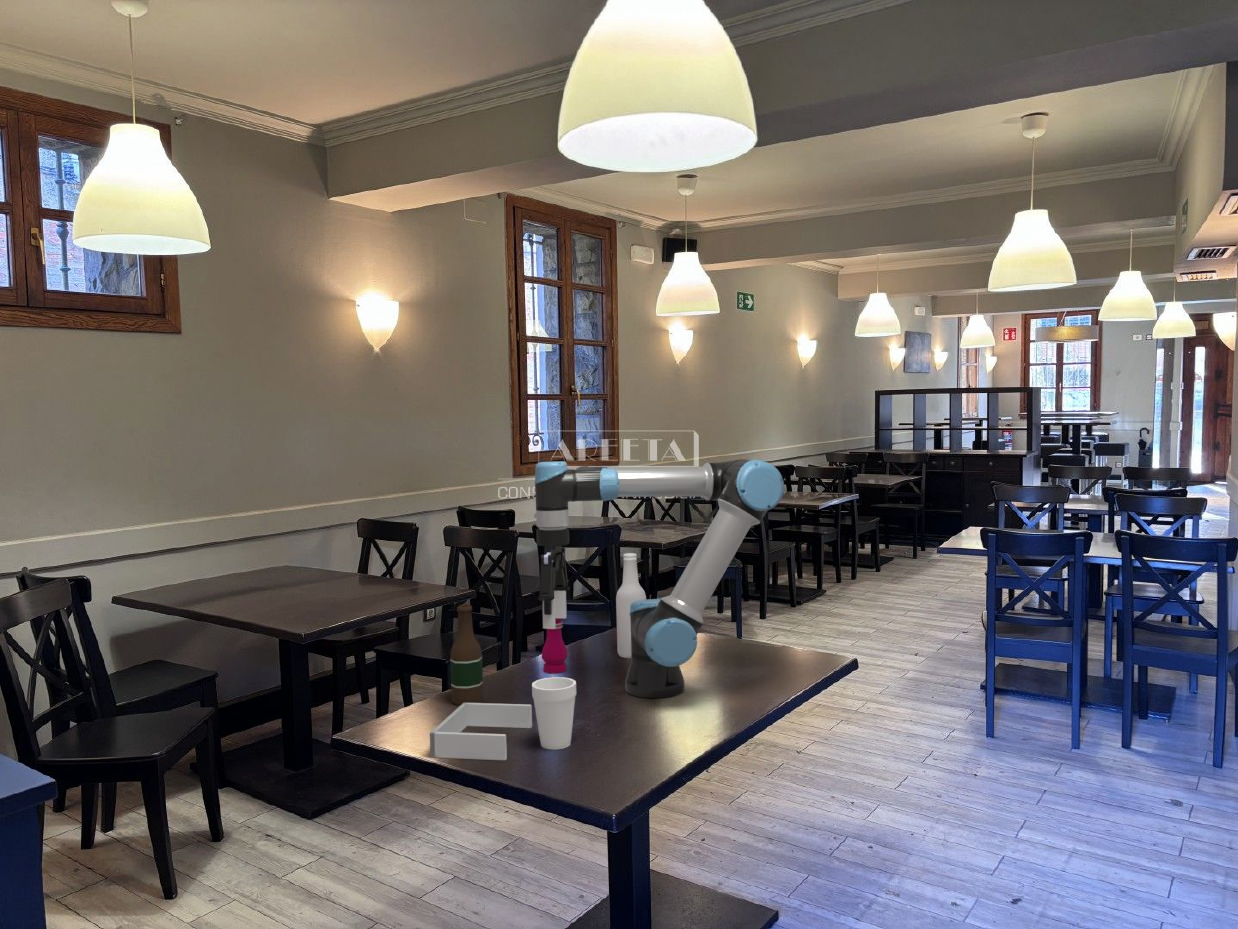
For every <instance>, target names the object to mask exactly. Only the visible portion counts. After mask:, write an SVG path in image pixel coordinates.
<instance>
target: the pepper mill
mask: <svg viewBox="0 0 1238 929" xmlns="http://www.w3.org/2000/svg"><path fill="white" fill-rule="evenodd" d="M553 600H554V598H553ZM563 620H564V618H555V626H556V628H555V629H546V638H545V639H546V640H545V643H544V645H543V648H542V651H541V659H542V661H544V664H543V672H544V673H546V674H562V673H564V672H566V671H567V663H566V662H565V661H566V660H568V659H567V658H568V650H567V645H565V642H564V640H563V637H562V628H563V627H564V625H563V623H564V622H563Z"/></svg>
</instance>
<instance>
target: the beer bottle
mask: <svg viewBox="0 0 1238 929" xmlns="http://www.w3.org/2000/svg"><path fill="white" fill-rule="evenodd" d="M456 611H457V634H456V639H455V640H454V643H453V644H452V646H451V650H450V655H449V656H450V658H449V660H450V665H449V666H450V689H451V702H452V704H454V705H455V706H458V707H459V706H461V705H462V704H463V703H482V701H483V700H484V676H483V674H484V673H483V670H484V669H483V652H482V648H481V645H480V643H479V642H478V640H477V638H476V637H475V634H474V628H473V627H474V625H473V615H472V611H473V606H472V605H470V604H460V605H459V606H457V608H456Z"/></svg>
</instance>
